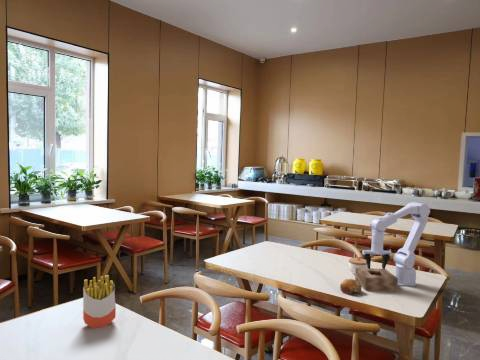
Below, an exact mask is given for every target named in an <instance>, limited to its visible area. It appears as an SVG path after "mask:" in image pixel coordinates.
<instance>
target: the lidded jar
mask: <svg viewBox="0 0 480 360" xmlns="http://www.w3.org/2000/svg"><path fill="white" fill-rule="evenodd" d="M348 268H349V271H350V272H351V273H352V274H353V275H354V276H355V274H356V268H367V262H366V259H364V258H360V257H353V258H352V257H350V258H349V259H348Z"/></svg>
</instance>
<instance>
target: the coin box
mask: <svg viewBox="0 0 480 360" xmlns="http://www.w3.org/2000/svg"><path fill="white" fill-rule="evenodd" d="M354 277H355V278H354V280H356V281H358V282H359V284H360V285H361V288H363V290H365V291H377V292H378V291H379V292H381V291H382V292H383V291H385V292H398V285H397V284H398V278H397V277H396V275H394V274H392V272H390V271H388V269H387V268H385V269H383V268H373V267H372V268H371V267H370V269H368V268H356V274H355V275H354Z"/></svg>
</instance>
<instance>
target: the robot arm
mask: <svg viewBox="0 0 480 360" xmlns="http://www.w3.org/2000/svg"><path fill="white" fill-rule="evenodd" d="M430 214H431V209H430V207H429V205H428V204H427V203H421V202H417V201H416V202H415V201H411V202H409V203H407V204H406V205H405V206H403V207H402V208H400V209H399V210H397V211H395V212H386V214H385V215H383V216H380V217H378V219H377V218H374V219H372V221H371V222H370V224H369V227H370V229H371V248H370V249H365V250H364V249H363V250H361V251H362V255H363V256H364V258H365V260H366V262H367V268H368V269H370V268H371V262H372V256H375V255H376V256H377V255H379V256H381V258H382V259H381V261H382V263H381V269H386V266H387V264H388V262H389V261H390V259H391V256H393V259H392V260H393V262H394V263H395V277H397V278H398V284H397V286H401V287H404V286H408V287H410V286H411V287H416V286H417V284H416V280H417V271H416V268H415V267H414V265H415V262H416V261H415V260H416V254H415V250H416V248H417V245H418V244H419V241H420V239H421V236H422V235H423V232H424V230H425V228H426V226H427V223H428V220H429V215H430ZM408 215H411V217H413V220H414V223H413V225H412V227H411V229H410V231H409V234H408V236H407V238H406V241H405V242H404V244H403V247H401V248H399V249H398V250H397V252H396V253H394V255H392V254H393V252H392V251H391V250H384V238H385V237H384V236H385V231H386V230H387V229H388V228H389V227H391V226H392V225H394V224H396V223H397V222H398V220H399V219H401V218H403V217H406V216H408ZM371 255H372V256H371Z"/></svg>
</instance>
